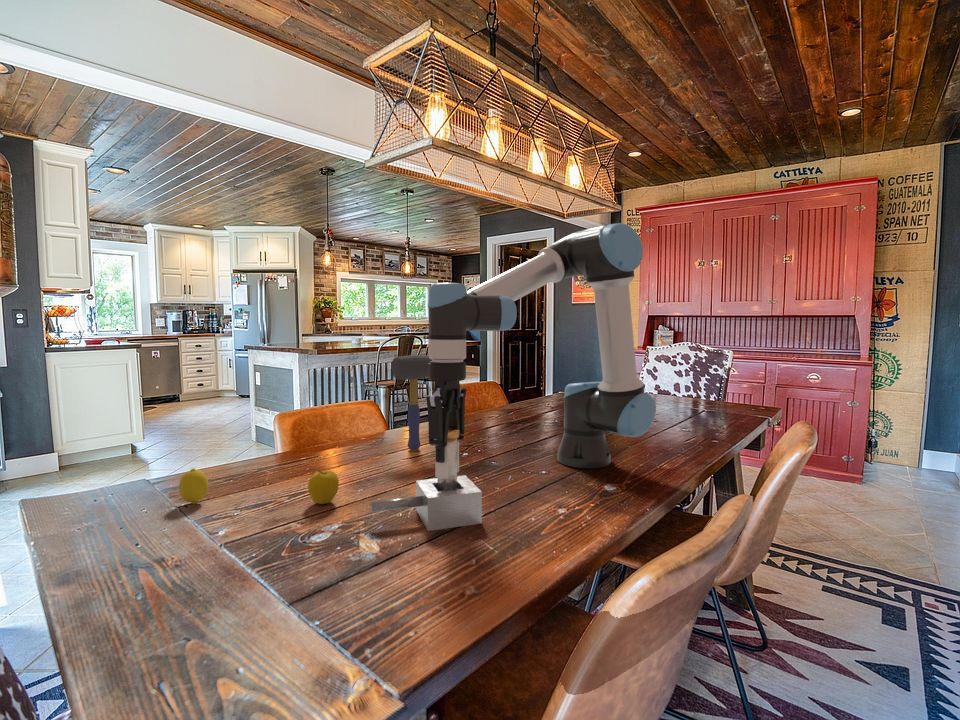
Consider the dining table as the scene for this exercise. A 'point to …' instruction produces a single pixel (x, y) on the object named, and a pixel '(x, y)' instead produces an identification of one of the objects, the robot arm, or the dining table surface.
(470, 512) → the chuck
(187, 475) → the lemon
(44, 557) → the dining table surface
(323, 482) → the apple
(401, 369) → the rubber mallet
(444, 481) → the grey gold cylinder
